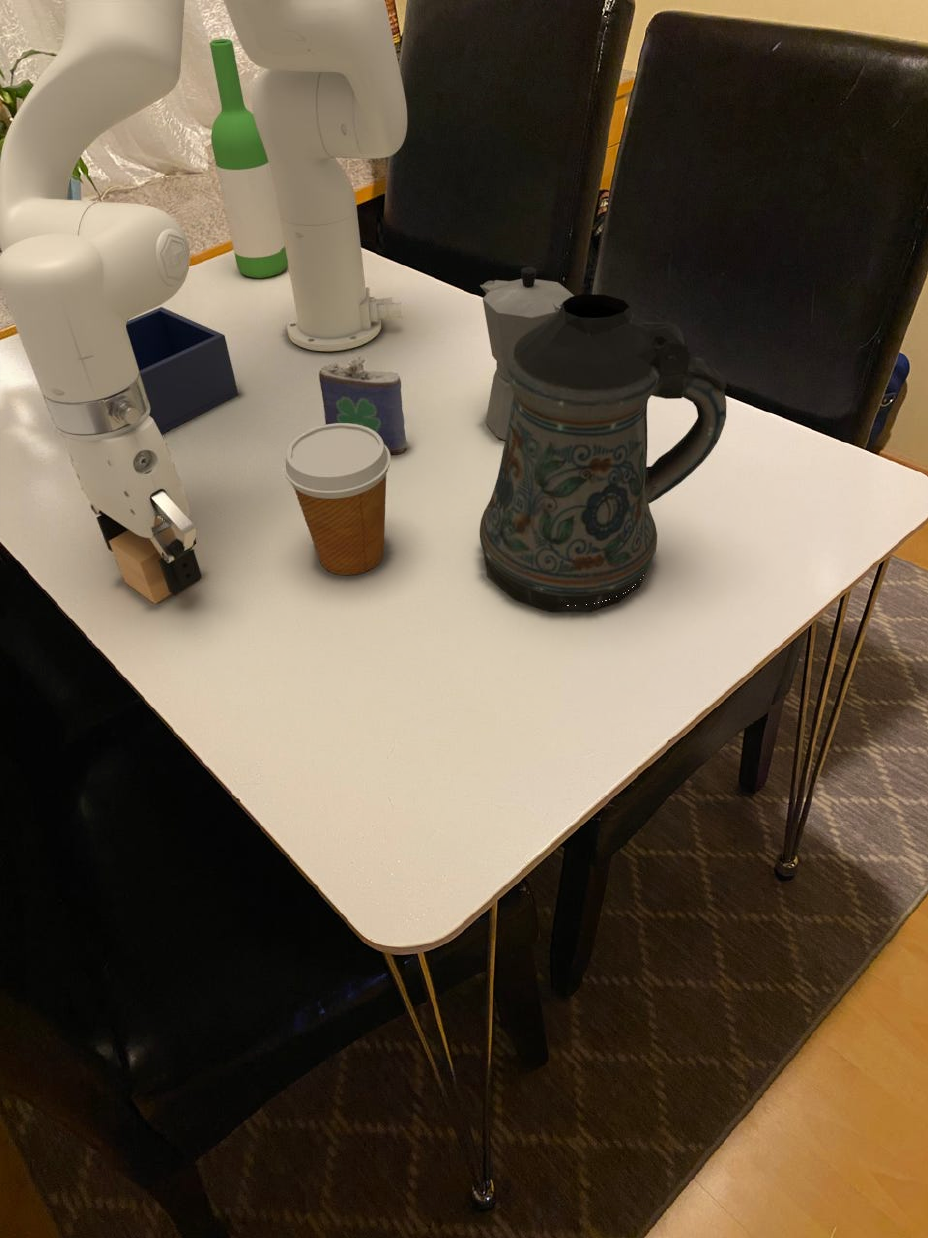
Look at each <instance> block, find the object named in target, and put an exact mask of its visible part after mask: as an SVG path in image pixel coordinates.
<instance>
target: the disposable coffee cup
mask: <svg viewBox="0 0 928 1238" xmlns="http://www.w3.org/2000/svg"><path fill="white" fill-rule="evenodd" d="M391 456H392V455H390V452H389V450H388V448H387V447H386V445H385V444H384V443H383V440H382V438H381V437H380V436H379V434H378V433H376V432H375V431H374V430H372V429H370V428H368V427H364V426H361V425H357V424H350V423H335V424H328V425H326V424H322V425H319V426H315V427H313V428H310V429H308V430H306V431H304V432H302V433H300V434H299V435H298V436H297V437H295V438H294V439H292V441H291V442H290V443H289V445H288V447H287V449H286V453H285V459H284V461H283V464H282V469H283V473H284V476H285V478H286V480H287V481H288V482H289V484H290V485H291V486H292V487H293V488H294V491H295V495H296V499H297V501H298V504H299V506H300V508H301V509H300V510H301V512H302V515H303V518H304V521H305V523H306V525H307V528H308V532H309V534H310V537H311V539H312V542H313V546H314V547H315V551H316V553H317V556H318V560H319V563H320V564H321V566H322V567H323V568H324V569H326V570H327V571H328V572H331V573H333V574H337V575H342V576H353V575H359V574H363V573H365V572H368V571H370V570H372V569H374V568H375V567H376V566H377V565H379V563H380V562H382V559H383V558H384V556H385V555H384V554H385V526H386V495H387V474H388V470H389V468H390V465H391Z"/></svg>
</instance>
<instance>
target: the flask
mask: <svg viewBox="0 0 928 1238" xmlns="http://www.w3.org/2000/svg"><path fill="white" fill-rule="evenodd" d="M365 362H366V359H365V357H362V356H360V355H359V356H357V358H352V359H351V358H350V359H349V361H348V362H347V364H348V367H345V366H342V365H339V364H338V363H333V364H329V365H325V366H322V367H321V368H320V369H319V371H318V378H319V384H320V392H321V397H322V404H323V412H324V419H325V425H328V424H335V423H350V424H357V425H361V426H364V427H368V428H370V429H372V430H374V431H375V432H376V433H378V434H379V436H380V437H381V438H382V440H383V443H384V444H385V445H386V447H387V448H388V450H389V452H390V456H392V455H401V454H402V453H404V452H405V451H406V449H407V436H406V429H405V417H404V411H403V397H402V381H401V377H400V375H399V374H398V373H397V372H393V371H373V370H372V371H369V370H365V369H364V363H365Z"/></svg>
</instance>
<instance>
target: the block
mask: <svg viewBox="0 0 928 1238" xmlns="http://www.w3.org/2000/svg"><path fill="white" fill-rule="evenodd" d="M164 521H165V520H162V518H159V516H158V517H156V518H155V521H154V526H153V528H154V527H156V526H157V525H159V524H161V523H163V522H164ZM159 535H160V536H161V538H162V539H163V541H164V542H165V544H166V545H167V546H169V545H170V543H171V542H172V541H174V540H175V537H174V531H173V530H172V528H171V527H170V528H168V529H166V530H164V531H163V532H161V533H159ZM109 543H110V546H111V548H112V551H113V552H112V551H111V552H112V553H113V556H114V558H115V562H116V564H117V566H118V568H119V571H120V573H121V576H122V578H123V581H124V583H126V584H127V585H128V586H130V587H131V588H132V589H134V590H135V591H137V592H138V593H140V594H141V595H142V596H143V597H145V598H146V599H147V600H148V601H150V602H152V603H153V604H155V605H156V604H158V603H160V602H161V601H163V600H165V599H166V598H167V597H169V596H171V595H173V594H172V593H170V592H169V589H168V586H167V584H166V581H165V578H164V575H163V572H162V569H161V566H160V563H159V559H161V558H162V556H161V555H160V553H159V552H158V550H157V549H156V547H155V546H154V545H153V543H152V542H151V540H150V539H149V538H145V537H141V536H139V535H137V534H135V533H134V532H132V531H130V530H127V531H126V532H124V533H122V534H120V535H119V536H117V537H115V538H113V539H112V540H110V541H109Z"/></svg>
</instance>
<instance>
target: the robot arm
mask: <svg viewBox="0 0 928 1238" xmlns="http://www.w3.org/2000/svg"><path fill="white" fill-rule="evenodd" d="M185 2H186V0H65V6H64V7H65V8H64V10H65V11H64V33H63V39H62V40H63V41H62V45H61V47H60V50H59V52H58V53H57V55H56V56H55V57H54V59H53V60H52V61H51V62H50V63H49V65H48V66H47V67H46V68H45V69H44V71H43V72H42V73H41V75H39V77H38V79H37V80H36V81H35V83H34V84H33V86H32V88H31V89H30V90H29V92H28V93H27V95H26V96H25V99H24V100H23V101H22V104H21V105H20V107H19V108H18V110H17V112H16V113H15V115H14V117H13V119H12V121H11V123H10V125H9V127H8V129H7V133H6V134H5V136H4V140H3V144H2V148H1V151H0V247H1V248H0V251H1V253H0V290H1V293H2V295H3V298H4V300H5V303H6V306H7V308H8V311H9V313H10V315H11V318H12V320H13V324H14V325H15V328H16V331H17V333H18V336H19V339H20V341H21V343H22V346H23V348H24V351H25V353H26V356H27V359H28V361H29V364H30V367H31V370H32V372H33V374H34V377H35V379H36V381H37V385H38V386H39V389H40V392H41V394H42V397H43V399H44V402H45V405H46V407H47V409H48V412H49V414H50V418H51V420H52V422H53V425H54V428H55V431H56V432H57V433H58V434H59V435H60V436H62V437H63V439H64V441H65V445H66V448H67V451H68V454H69V457H70V464H71V466H72V468H73V470H74V471H75V474H76V477H77V479H78V481H79V484H80V487H81V489H82V491H83V492H84V495H85V496H86V498H87V500H88V501H89V502H90V503H89V507H90V510H91V511H92V512H93V514H94V515H95V516H97V517H96V518H95V519H96V521H97V524H98V527H99V529H100V532H101V534H102V537H103V540H104V542H105V544H106V547H107V549H108V550H109V551H110V552H112V553H113V551H112V548H111V546H110V543H109V541H110V540H112V539H113V538H115V537H117V536H119V535H120V534H122V533H124V532H126V531H127V530H130V531H132V532H134V533H135V534H137V535H139V536H141V537H145V538H149V539H150V540H151V542H152V543H153V545H154V546H155V547H156V549H157V550H158V552H159V553H160V555H161V556H162V558H161V559H159V563H160V566H161V569H162V572H163V575H164V578H165V581H166V584H167V586H168V589H169V592H170V593H172V594H171V595H173V596H177V595H179V594H180V593H182V592H183V591H185V590H187V589H189V588H191V586H193V585H195V584H196V583H198V582H199V581H200V580H202V578H203V577H202V572H201V569H200V566H199V562H198V560H197V556H196V553H195V549H196V545H197V537H196V536H197V527H196V525H195V523H194V522H192V521H191V520H190V519H189V517H190V514H191V509H190V506H189V502H188V499H187V496H186V494H185V489H184V487H183V485H182V482H181V479H180V476H179V474H178V471H177V468H176V465H175V463H174V460H173V458H172V455H171V453H170V451H169V448H168V445H167V443H166V441H165V440H164V437H163V434H161V433H160V431H159V429H158V427H157V426H156V424H155V422H154V420H153V418H151V417H150V416H149V414H150V405H149V401H148V398H147V395H146V392H145V388H144V385H143V382H142V379H141V375H140V372H139V369H138V366H137V362H136V359H135V356H134V352H133V349H132V346H131V343H130V339H129V336H128V333H127V330H126V323H127V321H129V320H132V319H134V318H136V317H138V316H140V315H142V314H145V313H147V312H149V311H150V310H151V311H152V310H154V309H156V308H157V307H159V306H161V305H163V304H165V303H166V302H168V301H169V300H171V299H172V298H173V297H174V296H175V295H176V294H177V293H178V292H179V290H180V289H181V288H182V286H183V284H184V283H185V281H186V279H187V277H188V274H189V270H190V265H191V250H190V245H189V241H188V238H187V235H186V233H185V230H184V229H183V227H182V225H181V224H179V222H178V220H177V219H175V218H174V217H173V216H172V215H171V214H169V213H168V212H166V211H164V210H163V209H161V208H157V207H155V206H151V205H147V204H142V203H141V204H140V203H131V202H110V201H109V202H108V201H101V200H100V201H99V200H83V199H82V200H81V199H80V200H79V199H68V193H69V186H70V182H71V179H72V176H73V172H74V169H75V168H76V166H77V164H78V161H79V160H80V158H81V157H82V155H83V154H84V152H85V151H86V150H87V149H88V148H89V147H90V145H91V144H92V143H93V142H94V141H95V140H96V139H98V138H99V137H100V136H102V134H104V133H105V132H107V131H108V130H110V129H111V128H112V127H114V126H116V125H118V124H119V123H121V122H123V121H125V120H126V119H128V118H130V117H132V116H133V115H135V114H137V113H139V112H141V111H142V110H144V109H146V108H148V107H149V106H151V105H153V104H155V103H156V102H158V101H159V100H162V99H163V98H165V97H166V96H167V95H169V94H170V93H171V92H172V91H173V90H174V89H175V88H176V86H177V84H178V83H179V80H180V76H181V72H182V71H181V70H182V68H181V67H182V49H183V48H182V47H183V31H184V16H185ZM223 2H224V6H225V9H226V10H227V13H228V16H229V19H230V21H231V24H232V27H233V29H234V31H235V35H236V36H237V39H238V41H239V44H240V46H241V48H242V50H243V52H244V53H245V55H246V56H247V58H248V59H249V60H250V61H251V62H252V63H253V64H254V65H256V66H258V67H260V68H263V70H262V71H261V72H260V73H259V74H258V75H257V77H256V78H255V81H254V83H253V87H252V92H251V108H252V114H254V119H255V122H256V126H257V129H258V132H259V135H260V137H261V140H262V143H263V146H264V149H265V152H266V155H267V158H268V162H269V165H270V169H271V173H272V177H273V181H274V186H275V191H276V196H277V202H278V208H279V213H280V220H281V225H282V231H283V237H284V243H285V249H286V255H287V261H288V264H287V267H288V271H289V278H290V284H291V288H292V289H291V290H292V294H293V295H292V296H293V301H294V307H295V313H296V314H295V315H293V317H291V319H289V321H288V323H287V328H286V330H287V334H288V338H289V340H290V341H291V342H292V343H293V344H295V345H296V346H298V347H300V348H302V349H306V350H310V351H316V352H339V351H345V350H350V349H353V348H357V347H360V346H362V345H365V344H367V343H369V342H371V341H372V340H373V339H374V338H376V337H377V336H378V335H379V333H380V332H381V329H382V319H383V320H384V319H389V320H394V319H403V311H402V302H395V303H394V300H393V297H382V298H376V296H371V291H370V290H371V289H370V287H369V286H366V279H365V271H364V261H363V254H362V245H361V244H362V243H361V236H360V235H361V234H360V227H359V225H360V224H359V219H358V218H359V217H358V208H357V207H358V206H357V198H356V193H355V190H354V187H353V184H352V182H351V179H350V177H349V176H348V174H347V172H346V170H344V168H343V166H342V165H341V164H340V162H339V160H338V159H359V160H360V159H362V160H363V159H364V160H369V159H370V160H373V159H375V160H376V159H386V158H389V157H392V156H393V155H395V154H396V153H397V152H398V151H399V150H400V149H401V148H402V146H403V145H404V142H405V140H406V136H407V131H408V107H407V100H406V94H405V88H404V83H403V78H402V74H401V69H400V65H399V60H398V54H397V49H396V45H395V41H394V36H393V31H392V25H391V21H390V17H389V12H388V8H387V4H386V1H385V0H223ZM156 517H158V518H159V517H161V519H163V521H164V522H163V523H161V524H159V525H157V526H156V527H154V528H153V526H154V521H155V518H156ZM170 527H171V528H172V530H173V531H174V537H175V540H174V541H172V542H171V543H170V545H169V546H167V545H166V544H165V542H164V541H163V539H162V538H161V536H160V535H159V533H161V532H163V531H164V530H166V529H168V528H170Z"/></svg>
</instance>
